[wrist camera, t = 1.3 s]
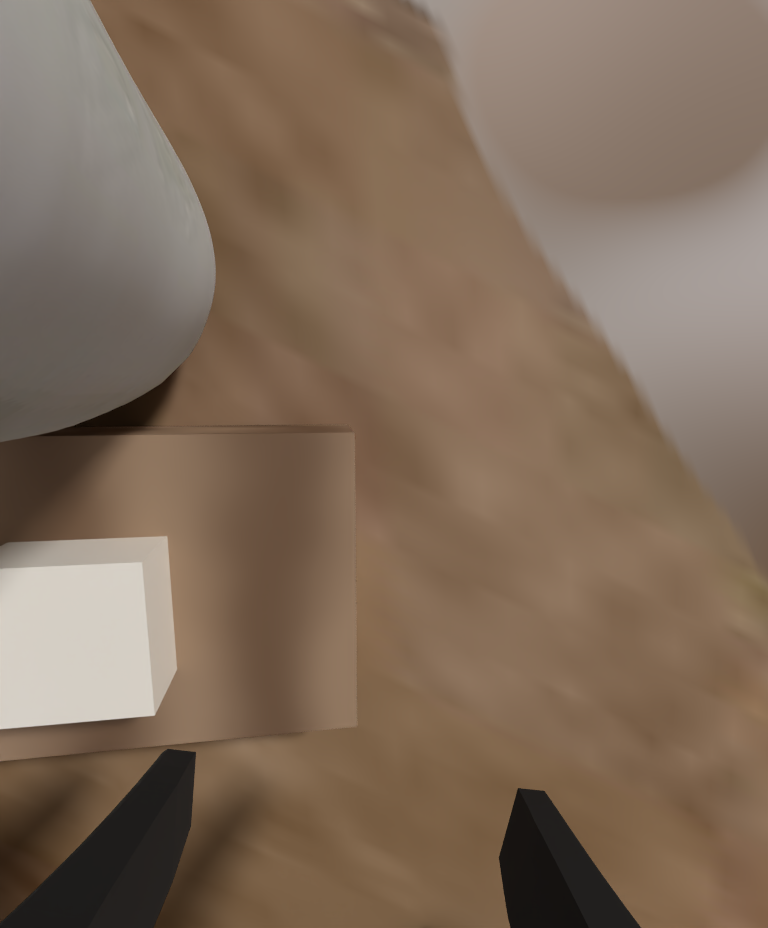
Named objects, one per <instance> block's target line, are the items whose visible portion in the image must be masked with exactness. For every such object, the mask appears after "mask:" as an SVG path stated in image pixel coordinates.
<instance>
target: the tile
mask: <svg viewBox="0 0 768 928" xmlns="http://www.w3.org/2000/svg"><path fill="white" fill-rule="evenodd" d="M176 671H177V662H176V648H175V635H174V621H173V607H172V594H171V580H170V567H169V553H168V539H167V536H158V537H133V538H108V539H83V540H57V541H32V542H8V543H6V544H4V545H2V546H0V729H9V728H21V727H32V726H43V725H55V724H66V723H77V722H89V721H100V720H111V719H122V718H134V717H145V716H155V714H156V712H157V710H158V708H159V706H160V704H161V702H162V700H163V698H164V695H165V693H166V691H167V689H168V687H169V685H170V683H171V681H172V679H173V677H174V675H175V673H176Z"/></svg>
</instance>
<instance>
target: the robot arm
mask: <svg viewBox="0 0 768 928" xmlns="http://www.w3.org/2000/svg"><path fill="white" fill-rule="evenodd" d="M195 758H196V752H190V751H181V750H172V749H167V750H166V751H164V752H163V753H162V754H161V755H160V756H159V757H158V759H157V760H156V761H155V762H154V764H153V765H152V766H151V767H150V768H149V770H148V771H147V772H146V773H145V774H144V775H143V777H142V778H141V779H140V780H139V781H138V783H137V784H136V785H135V786H134V787H133V788H132V789H131V791H130V792H129V793H128V794H127V795H126V796H125V797H124V798H123V800H122V801H121V802H120V803H119V804H118V805H117V806H116V807H115V809H114V810H113V811H112V812H111V813H110V814H109V815H108V816H107V817H106V818H105V819H104V820H103V821H102V822H101V824H100V825H99V826H98V827H97V828H96V829H95V830H94V831H93V832H92V833H91V834H90V835H89V836H88V837H87V839H86V840H85V841H84V842H83V843H82V844H81V845H80V846H79V847H78V848H77V849H76V850H75V851H74V852H73V853H72V854H71V855H70V856H69V857H68V858H67V859H66V860H65V861H64V862H63V863H62V864H61V865H60V866H59V867H58V868H57V869H56V870H55V871H54V872H53V873H52V874H51V875H50V876H49V877H48V878H47V879H46V880H45V881H44V882H43V883H42V884H41V885H40V886H39V887H38V888H37V889H36V890H35V891H34V892H33V893H32V894H31V895H30V896H29V897H27V898H26V899H25V900H24V901H23V902H22V903H21V904H20V905H19V906H18V907H17V908H16V909H15V910H14V911H13V912H11V913H10V914H9V915H8V916H7V917H6V918H5V919H4V920H3V921H2V922H1V923H0V928H153V927H154V925H155V922H156V920H157V918H158V915H159V913H160V911H161V908H162V906H163V904H164V901H165V899H166V896H167V894H168V892H169V889H170V887H171V884H172V882H173V879H174V876H175V873H176V870H177V867H178V864H179V861H180V858H181V855H182V851H183V848H184V845H185V842H186V839H187V836H188V833H189V830H190V827H191V816H192V802H193V787H194V773H195ZM499 861H500V868H501V875H502V882H503V889H504V895H505V902H506V908H507V914H508V919H509V923H510V927H511V928H641V927H640V926H639V924H638V923H637V922H636V920H635V919H634V918H633V916H632V915H631V914H630V912H629V911H628V910H627V908H626V907H625V906H624V904H623V903H622V902H621V900H620V899H619V897H618V896H617V895H616V893H615V892H614V890H613V889H612V888H611V886H610V885H609V884H608V882H607V881H606V879H605V878H604V877H603V875H602V874H601V872H600V871H599V870H598V868H597V867H596V865H595V864H594V863H593V861H592V860H591V858H590V857H589V855H588V854H587V852H586V851H585V850H584V848H583V847H582V845H581V844H580V842H579V841H578V839H577V838H576V836H575V835H574V834H573V832H572V831H571V829H570V828H569V826H568V825H567V823H566V822H565V820H564V819H563V817H562V816H561V814H560V813H559V811H558V810H557V808H556V807H555V806H554V804H553V803H552V801H551V800H550V798H549V797H548V795H547V794H546V793H545V791H539V790H530V789H521V788H518V790H517V794H516V798H515V801H514V805H513V809H512V812H511V816H510V819H509V823H508V827H507V830H506V834H505V838H504V841H503V845H502V849H501V852H500V856H499Z"/></svg>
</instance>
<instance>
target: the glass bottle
mask: <svg viewBox="0 0 768 928" xmlns="http://www.w3.org/2000/svg"><path fill="white" fill-rule="evenodd" d="M215 275H216V269H215V256H214V249H213V244H212V239H211V235H210V231H209V227H208V224H207V221H206V218H205V215H204V212H203V209H202V207H201V204H200V202H199V199H198V197H197V195H196V193H195V190H194V188H193V186H192V184H191V181H190V179H189V177H188V175H187V173H186V171H185V169H184V168H183V166H182V164H181V162H180V160H179V158H178V157H177V155H176V153H175V151H174V149H173V148H172V146H171V144H170V142H169V141H168V139H167V137H166V135H165V134H164V132H163V130H162V129H161V127H160V125H159V124H158V122H157V120H156V119H155V117H154V115H153V113H152V112H151V110H150V108H149V107H148V105H147V103H146V102H145V100H144V98H143V96H142V95H141V93H140V91H139V89H138V88H137V86H136V84H135V83H134V81H133V79H132V78H131V76H130V74H129V72H128V70H127V68H126V66H125V65H124V63H123V61H122V59H121V57H120V56H119V54H118V52H117V50H116V48H115V46H114V44H113V43H112V41H111V39H110V37H109V35H108V33H107V31H106V30H105V28H104V26H103V24H102V22H101V20H100V18H99V16H98V14H97V12H96V10H95V9H94V7H93V5H92V3H91V1H90V0H0V442H4V441H9V440H14V439H21V438H25V437H30V436H36V435H40V434H44V433H49V432H53V431H57V430H60V429H63V428H66V427H70V426H74V425H76V424H79V423H81V422H84V421H86V420H89V419H92V418H94V417H97V416H99V415H101V414H104V413H107V412H109V411H111V410H113V409H115V408H118V407H120V406H122V405H125V404H127V403H129V402H131V401H132V400H134V399H136V398H138V397H140V396H142V395H143V394H145V393H147V392H148V391H150V390H152V389H153V388H155V387H156V386H158V385H160V384H161V383H162V382H163V381H164V380H165V379H166V378H167V377H168V376H169V375H170V374H172V373H173V372H174V371H175V370H176V369H177V368H178V367H179V366H180V365H181V364H182V363H183V362H184V361H185V360H186V359H187V358H188V356H189V355H190V354H191V352H192V351H193V349H194V347H195V345H196V344H197V342H198V340H199V338H200V336H201V334H202V332H203V329H204V327H205V324H206V321H207V318H208V315H209V312H210V309H211V305H212V301H213V296H214V289H215Z"/></svg>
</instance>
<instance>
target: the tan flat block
mask: <svg viewBox="0 0 768 928" xmlns="http://www.w3.org/2000/svg"><path fill="white" fill-rule="evenodd" d="M158 536H167V539H168V553H169V567H170V580H171V594H172V607H173V621H174V635H175V648H176V662H177V671H176V673H175V675H174V677H173V679H172V681H171V683H170V685H169V687H168V689H167V691H166V693H165V695H164V698H163V700H162V702H161V704H160V706H159V708H158V710H157V712H156V714H155V716H145V717H134V718H122V719H111V720H100V721H89V722H77V723H66V724H55V725H43V726H32V727H21V728H9V729H0V761H8V760H18V759H29V758H39V757H49V756H60V755H70V754H80V753H91V752H101V751H111V750H122V749H132V748H142V747H153V746H163V745H173V744H184V743H194V742H204V741H215V740H225V739H235V738H246V737H256V736H266V735H277V734H287V733H297V732H308V731H318V730H328V729H339V728H349V727H357V641H356V515H355V432H354V431H353V430H352V429H351V427H350V426H349V425H247V426H143V427H66V428H63V429H60V430H57V431H53V432H49V433H44V434H40V435H36V436H30V437H25V438H21V439H14V440H9V441H4V442H0V546H2V545H4V544H6V543H8V542H32V541H57V540H83V539H108V538H133V537H158Z"/></svg>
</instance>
